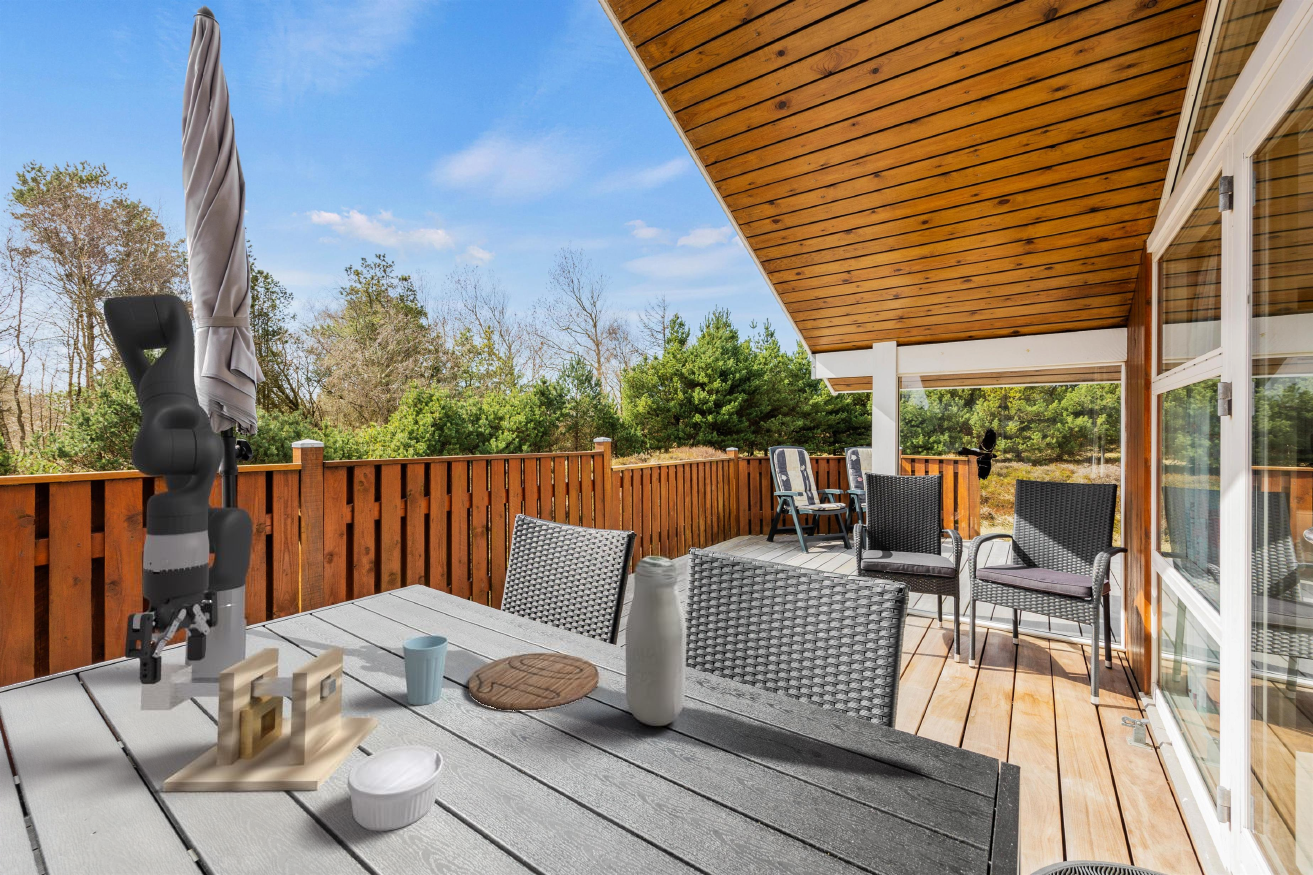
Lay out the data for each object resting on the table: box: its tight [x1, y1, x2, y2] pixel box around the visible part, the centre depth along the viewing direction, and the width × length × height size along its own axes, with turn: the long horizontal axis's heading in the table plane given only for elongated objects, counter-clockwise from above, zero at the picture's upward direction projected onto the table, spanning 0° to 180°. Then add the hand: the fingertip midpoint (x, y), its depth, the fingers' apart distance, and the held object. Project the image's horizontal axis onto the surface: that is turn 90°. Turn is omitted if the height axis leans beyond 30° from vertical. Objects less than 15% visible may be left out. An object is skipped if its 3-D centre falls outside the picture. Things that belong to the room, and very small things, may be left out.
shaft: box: [140, 664, 336, 711], centre depth 85 cm, size 26×4×5 cm, turn 92°
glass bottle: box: [624, 555, 687, 727], centre depth 97 cm, size 10×10×28 cm
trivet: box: [468, 652, 600, 711], centre depth 112 cm, size 25×25×2 cm
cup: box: [402, 634, 449, 706], centre depth 104 cm, size 8×8×10 cm
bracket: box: [162, 647, 379, 792], centre depth 85 cm, size 20×18×14 cm
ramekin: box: [347, 744, 444, 832], centre depth 73 cm, size 11×11×5 cm
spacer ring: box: [240, 696, 284, 759], centre depth 84 cm, size 2×7×7 cm, turn 3°
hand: (174, 670), depth 85 cm, fingers open, 8 cm apart
